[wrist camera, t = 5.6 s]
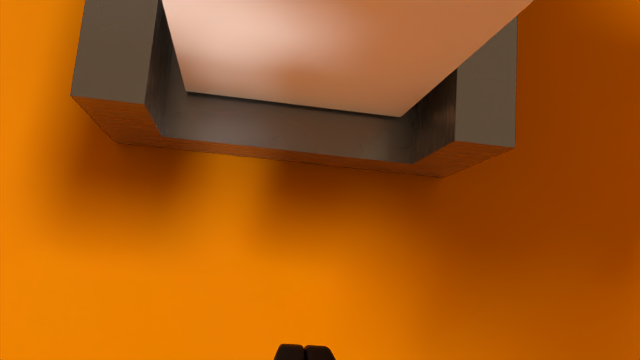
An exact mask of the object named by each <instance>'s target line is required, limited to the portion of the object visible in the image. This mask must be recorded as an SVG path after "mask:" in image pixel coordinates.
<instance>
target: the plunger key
mask: <svg viewBox="0 0 640 360" xmlns="http://www.w3.org/2000/svg"><path fill="white" fill-rule="evenodd" d="M533 1H534V0H162V3H163V7H164V10H165V14H166V18H167V22H168V26H169V29H170V33H171V37H172V41H173V45H174V48H175V52H176V56H177V60H178V64H179V67H180V71H181V75H182V79H183V83H184V86H185V90H186V91H189V92H197V93H206V94H214V95H222V96H230V97H238V98H246V99H255V100H263V101H271V102H279V103H287V104H296V105H304V106H312V107H320V108H328V109H337V110H345V111H353V112H361V113H369V114H378V115H386V116H394V117H401V116H402V115H404V114H405V113H406V112H407V111H408V110H409V109H410V108H412V107H413V106H414V105H415V104H416V103H417V102H418V101H420V100H421V99H422V98H423V97H424V96H425V95H426V94H428V93H429V92H430V91H431V90H432V89H433V88H434V87H436V86H437V85H438V84H439V83H440V82H441V81H442V80H444V79H445V78H446V77H447V76H448V75H449V74H450V73H452V72H453V71H454V70H455V69H456V68H457V67H458V66H460V65H461V64H462V63H463V62H464V61H465V60H466V59H468V58H469V57H470V56H471V55H472V54H473V53H474V52H476V51H477V50H478V49H479V48H480V47H481V46H482V45H484V44H485V43H486V42H487V41H488V40H489V39H490V38H492V37H493V36H494V35H495V34H496V33H497V32H498V31H500V30H501V29H502V28H503V27H504V26H505V25H506V24H508V23H509V22H510V21H511V20H512V19H513V18H515V17H516V16H517V15H518V14H519V13H520V12H521V11H523V10H524V9H525V8H526V7H527V6H528V5H529V4H531V3H532V2H533Z"/></svg>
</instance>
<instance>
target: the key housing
mask: <svg viewBox="0 0 640 360" xmlns="http://www.w3.org/2000/svg"><path fill="white" fill-rule="evenodd" d="M516 63H517V16H516V17H515V18H513V19H512V20H511V21H510V22H509V23H508V24H506V25H505V26H504V27H503V28H502V29H501V30H500V31H498V32H497V33H496V34H495V35H494V36H493V37H492V38H490V39H489V40H488V41H487V42H486V43H485V44H484V45H482V46H481V47H480V48H479V49H478V50H477V51H476V52H474V53H473V54H472V55H471V56H470V57H469V58H468V59H466V60H465V61H464V62H463V63H462V64H461V65H460V66H458V67H457V68H456V69H455V70H454V71H453V72H452V73H450V74H449V75H448V76H447V77H446V78H445V79H444V80H442V81H441V82H440V83H439V84H438V85H437V86H436V87H434V88H433V89H432V90H431V91H430V92H429V93H428V94H426V95H425V96H424V97H423V98H422V99H421V100H420V101H418V102H417V103H416V104H415V105H414V106H413V107H412V108H410V109H409V110H408V111H407V112H406V113H405V114H404V115H402V116H401V117H394V116H386V115H378V114H369V113H361V112H353V111H345V110H337V109H328V108H320V107H312V106H304V105H296V104H287V103H279V102H271V101H263V100H255V99H246V98H238V97H230V96H222V95H214V94H206V93H197V92H189V91H186V90H185V86H184V83H183V79H182V75H181V71H180V67H179V64H178V60H177V56H176V52H175V48H174V45H173V41H172V37H171V33H170V29H169V26H168V22H167V18H166V14H165V10H164V7H163V3H162V0H85V6H84V13H83V19H82V25H81V32H80V38H79V44H78V50H77V57H76V63H75V69H74V75H73V82H72V88H71V94H70V96H71V97H72V98H73V99H74V100H75V101H76V102H77V103H78V104H79V105H80V106H81V107H82V108H83V109H84V110H85V111H86V112H87V114H88V115H89V116H90V117H91V118H92V119H93V120H94V121H95V122H96V123H97V124H98V125H99V126H100V127H101V128H102V129H103V130H104V131H105V132H106V134H107V135H108V136H109V137H110V138H111V139H112V140H113V141H114V142H115V143H123V144H133V145H142V146H151V147H161V148H170V149H179V150H189V151H198V152H208V153H217V154H226V155H236V156H245V157H254V158H264V159H273V160H283V161H292V162H301V163H311V164H320V165H329V166H339V167H348V168H358V169H367V170H376V171H386V172H395V173H404V174H414V175H423V176H433V177H442V178H443V177H445V176H448V175H450V174H453V173H455V172H457V171H460V170H462V169H465V168H467V167H470V166H472V165H474V164H477V163H479V162H482V161H484V160H486V159H489V158H491V157H494V156H496V155H499V154H501V153H503V152H506V151H508V150H511V149H513V148H515V122H516Z"/></svg>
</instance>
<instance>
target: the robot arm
mask: <svg viewBox="0 0 640 360" xmlns="http://www.w3.org/2000/svg"><path fill="white" fill-rule="evenodd" d="M274 360H336V359H335V357H334V356H333V354H332V352H331V350H330V349H329V348H328V347H326V346H315V345H307V346H305V347H304V348H303V346H302V345H297V344H281V345H280V346H279V348H278V350H277V353H276V355H275V358H274Z"/></svg>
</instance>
